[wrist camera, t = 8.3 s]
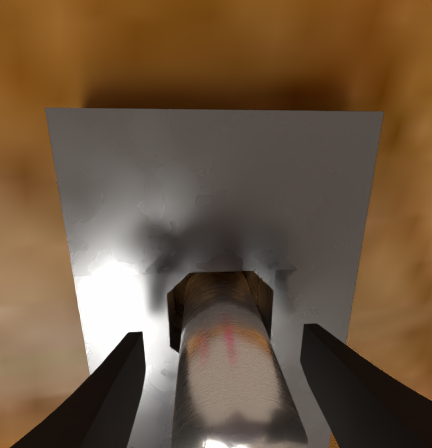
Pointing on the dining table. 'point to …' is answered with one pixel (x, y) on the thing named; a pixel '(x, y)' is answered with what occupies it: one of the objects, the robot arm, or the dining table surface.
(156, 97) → the dining table surface
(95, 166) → the dock plate
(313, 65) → the dining table surface
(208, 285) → the steel peg
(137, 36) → the dining table surface
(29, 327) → the dining table surface
